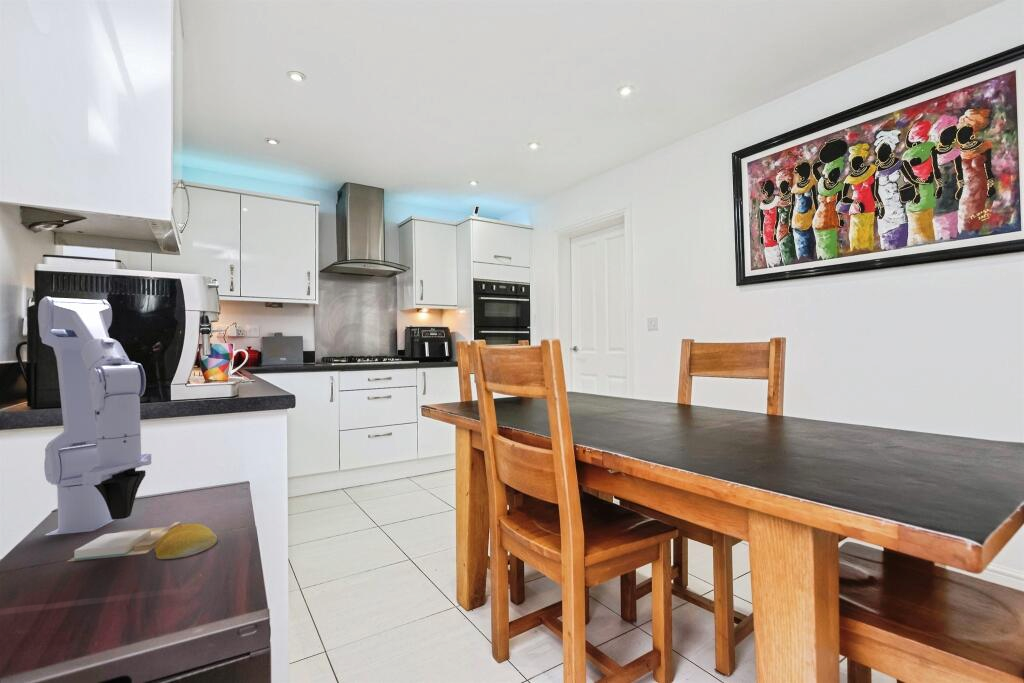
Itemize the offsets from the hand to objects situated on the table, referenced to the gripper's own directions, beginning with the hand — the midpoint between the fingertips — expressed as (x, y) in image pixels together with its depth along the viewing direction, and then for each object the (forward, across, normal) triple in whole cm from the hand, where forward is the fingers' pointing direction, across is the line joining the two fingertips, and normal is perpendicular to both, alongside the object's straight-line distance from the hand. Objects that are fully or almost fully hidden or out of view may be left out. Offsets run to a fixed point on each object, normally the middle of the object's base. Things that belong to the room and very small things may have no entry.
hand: (121, 517), depth 80 cm
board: (+5, +1, -1) cm, 5 cm away
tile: (+4, +2, 0) cm, 4 cm away
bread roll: (+6, -4, -12) cm, 14 cm away
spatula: (+4, +1, -5) cm, 7 cm away
